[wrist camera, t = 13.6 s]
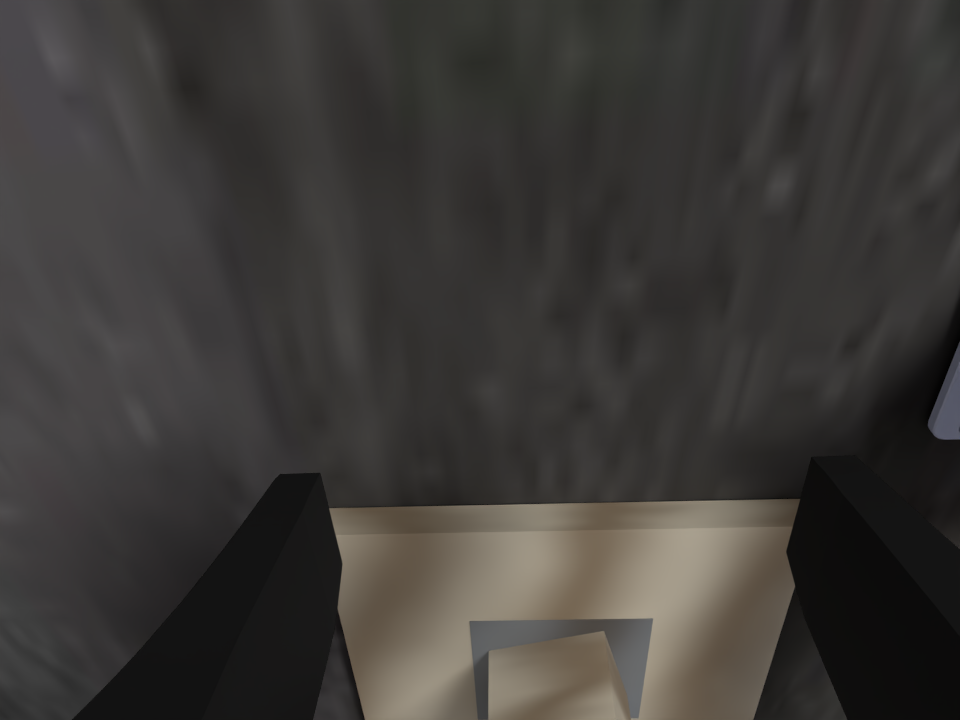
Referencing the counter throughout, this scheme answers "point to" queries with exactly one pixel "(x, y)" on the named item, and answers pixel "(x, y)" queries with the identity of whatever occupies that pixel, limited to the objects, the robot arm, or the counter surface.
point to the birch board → (565, 599)
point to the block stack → (557, 681)
